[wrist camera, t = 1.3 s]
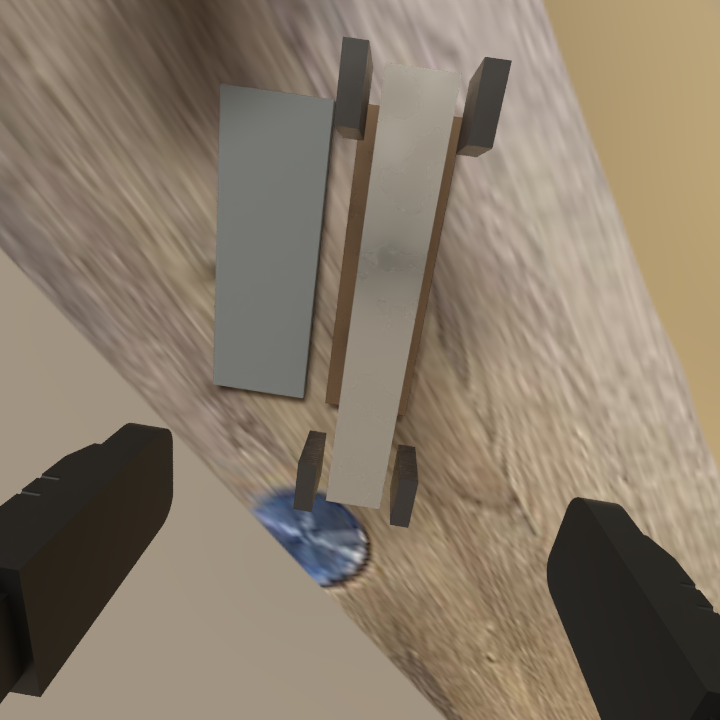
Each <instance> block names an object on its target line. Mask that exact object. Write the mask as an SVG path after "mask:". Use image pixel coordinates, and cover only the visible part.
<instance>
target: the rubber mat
mask: <svg viewBox="0 0 720 720" xmlns="http://www.w3.org/2000/svg"><path fill="white" fill-rule="evenodd" d="M335 105H336V103H335V101H334V100H332V99H325V98H318V97H311V96H304V95H297V94H290V93H283V92H276V91H270V90H263V89H256V88H249V87H242V86H235V85H228V84H221V83H220V118H219V160H218V203H217V245H216V288H215V330H214V373H213V384H215V385H221V386H228V387H234V388H240V389H247V390H253V391H259V392H266V393H272V394H278V395H285V396H291V397H297V398H303V397H304V395H305V391H306V381H307V372H308V362H309V353H310V343H311V334H312V324H313V315H314V305H315V296H316V286H317V276H318V267H319V257H320V248H321V238H322V229H323V219H324V210H325V200H326V191H327V181H328V171H329V162H330V152H331V143H332V133H333V124H334V114H335Z"/></svg>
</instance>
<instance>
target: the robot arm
mask: <svg viewBox="0 0 720 720" xmlns="http://www.w3.org/2000/svg"><path fill="white" fill-rule="evenodd" d="M172 498H173V440H172V434H171V432H170V430H169V429H165V428H159V427H153V426H147V425H140V424H135V423H128V424H126V425H124V426H123V427H122V428H120V429H119V430H118V431H117V432H116V433H114V434H113V435H112V436H111V437H110V438H108V439H107V440H106V441H105V442H103V443H102V444H96V443H95V444H92V445H90V446H87V447H85V448H83V449H81V450H78V451H76V452H74V453H72V454H69V455H67V456H65V457H64V458H62V459H61V460H60V461H58V462H57V463H56V464H54V465H53V466H52V467H51V468H49V469H48V470H47V471H45V472H44V473H43V474H42V476H41V478H36V479H35V480H34V481H33V482H31V483H30V484H29V485H27V486H26V487H25V488H23V489H22V492H21V494H16V495H14V496H13V497H12V498H11V499H9V500H8V501H7V502H5V503H4V504H3V505H1V506H0V703H1V702H2V701H3V699H4V698H5V697H6V696H7V694H8V693H9V692H14V693H20V694H25V695H31V696H37V697H41V696H42V694H43V693H44V691H45V690H46V688H47V687H48V686H49V684H50V683H51V681H52V680H53V679H54V677H55V676H56V674H57V673H58V672H59V670H60V669H61V667H62V666H63V665H64V663H65V662H66V660H67V659H68V658H69V656H70V655H71V653H72V652H73V651H74V649H75V648H76V646H77V645H78V644H79V642H80V641H81V639H82V638H83V637H84V635H85V634H86V632H87V631H88V630H89V628H90V627H91V625H92V624H93V622H94V621H95V620H96V618H97V617H98V616H99V614H100V613H101V611H102V610H103V609H104V607H105V606H106V604H107V603H108V602H109V600H110V599H111V597H112V596H113V595H114V593H115V592H116V590H117V589H118V587H119V586H120V585H121V583H122V582H123V580H124V579H125V578H126V576H127V575H128V573H129V572H130V571H131V569H132V568H133V566H134V565H135V564H136V562H137V561H138V559H139V558H140V556H141V555H142V554H143V552H144V551H145V550H146V548H147V547H148V545H149V544H150V543H151V541H152V540H153V538H154V537H155V536H156V534H157V533H158V531H159V530H160V529H161V527H162V526H163V524H164V522H165V520H166V518H167V516H168V513H169V511H170V507H171V504H172ZM547 582H548V587H549V591H550V594H551V596H552V599H553V601H554V604H555V606H556V609H557V611H558V614H559V616H560V619H561V621H562V624H563V626H564V629H565V631H566V634H567V636H568V639H569V641H570V644H571V646H572V648H573V651H574V653H575V656H576V658H577V661H578V663H579V666H580V668H581V671H582V673H583V676H584V678H585V681H586V683H587V686H588V688H589V691H590V693H591V696H592V698H593V701H594V703H595V705H596V708H597V710H598V713H599V715H600V718H601V720H720V615H719V614H718V613H714V611H713V606H712V605H711V604H710V602H709V601H708V600H707V599H706V597H705V596H704V595H703V594H702V592H701V591H700V590H696V588H695V583H694V582H693V581H692V580H691V578H690V577H689V576H688V575H687V573H686V572H685V571H684V570H683V568H682V567H681V566H680V565H679V563H678V562H677V561H676V559H675V558H673V557H672V556H671V555H670V554H669V553H667V552H666V551H665V550H664V549H662V548H661V547H660V546H659V545H658V544H656V543H655V542H654V541H653V540H652V539H650V538H649V537H648V536H646V535H643V534H642V532H641V531H640V530H639V528H638V527H637V526H636V524H635V523H634V522H633V520H632V519H631V518H630V516H629V515H628V514H627V512H626V511H625V510H624V509H623V507H622V506H620V505H619V504H616V503H610V502H604V501H598V500H592V499H586V498H579V497H577V498H574V499H573V500H572V501H571V502H570V504H569V505H568V508H567V510H566V513H565V516H564V518H563V521H562V523H561V526H560V529H559V531H558V534H557V537H556V539H555V542H554V545H553V547H552V550H551V552H550V555H549V558H548V563H547Z"/></svg>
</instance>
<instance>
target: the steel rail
mask: <svg viewBox="0 0 720 720" xmlns="http://www.w3.org/2000/svg"><path fill="white" fill-rule="evenodd" d="M461 75H462V73H455V72H448V71H441V70H434V69H427V68H420V67H413V66H406V65H399V64H392V63H386V64H385V71H384V79H383V86H382V94H381V101H380V108H379V116H378V123H377V130H376V138H375V145H374V152H373V160H372V167H371V174H370V182H369V189H368V196H367V204H366V211H365V219H364V226H363V233H362V241H361V248H360V255H359V263H358V270H357V277H356V285H355V292H354V299H353V307H352V314H351V321H350V329H349V336H348V344H347V351H346V358H345V366H344V373H343V380H342V388H341V395H340V402H339V410H338V417H337V424H336V432H335V439H334V446H333V454H332V461H331V468H330V476H329V483H328V491H327V498H326V501H331V502H337V503H344V504H350V505H356V506H362V507H368V508H374V509H379V508H380V503H381V497H382V492H383V487H384V482H385V476H386V471H387V466H388V460H389V455H390V450H391V445H392V439H393V434H394V429H395V424H396V418H397V413H398V408H399V402H400V397H401V392H402V387H403V381H404V376H405V371H406V365H407V360H408V355H409V350H410V344H411V339H412V334H413V328H414V323H415V318H416V313H417V307H418V302H419V297H420V291H421V286H422V281H423V276H424V270H425V265H426V260H427V254H428V249H429V244H430V239H431V233H432V228H433V223H434V217H435V212H436V207H437V202H438V196H439V191H440V186H441V180H442V175H443V170H444V165H445V159H446V154H447V149H448V144H449V138H450V133H451V128H452V122H453V117H454V112H455V107H456V101H457V96H458V91H459V85H460V80H461Z"/></svg>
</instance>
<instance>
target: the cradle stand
mask: <svg viewBox="0 0 720 720" xmlns="http://www.w3.org/2000/svg"><path fill="white" fill-rule="evenodd" d="M511 62H512V61H510V60H503V59H496V58H489V57H485V58H484V60H483V61H482V63H481V64H480V66H479V67H478V69H477V71H476V72H475V74H474V75H473V77H472V79H471V80H470V82H469V88H468V93H467V98H466V103H465V108H464V113H463V118H461V117H453V122H452V128H451V133H450V138H449V144H448V149H447V154H446V159H445V165H444V170H443V175H442V180H441V186H440V191H439V196H438V202H437V207H436V212H435V217H434V223H433V228H432V233H431V239H430V244H429V249H428V254H427V260H426V265H425V270H424V276H423V281H422V286H421V291H420V297H419V302H418V307H417V313H416V318H415V323H414V328H413V334H412V339H411V344H410V350H409V355H408V360H407V365H406V371H405V376H404V381H403V387H402V392H401V397H400V402H399V408H398V413H397V414H399V415H405V413H406V408H407V403H408V398H409V393H410V388H411V383H412V377H413V372H414V367H415V362H416V357H417V352H418V347H419V342H420V337H421V332H422V327H423V321H424V316H425V311H426V306H427V301H428V296H429V291H430V286H431V281H432V276H433V271H434V266H435V260H436V255H437V250H438V245H439V240H440V235H441V230H442V225H443V220H444V215H445V210H446V204H447V199H448V194H449V189H450V184H451V179H452V174H453V169H454V164H455V159H456V154H458V155H465V156H472V157H478V156H479V155H481V154H483V153H485V152H487V151H489V150H490V149H492V147H493V143H494V138H495V134H496V129H497V125H498V120H499V116H500V111H501V107H502V102H503V98H504V93H505V89H506V84H507V80H508V75H509V71H510V66H511ZM372 73H373V63H372V56H371V49H370V42H369V40H362V39H355V38H348V37H343V42H342V52H341V61H340V71H339V80H338V90H337V99H336V109H335V118H334V126H335V128H336V129H337V130H338V132H339V133H340V134H341V136H342V137H343V138H349V139H355V140H358V142H357V150H356V158H355V166H354V174H353V183H352V191H351V199H350V207H349V215H348V223H347V231H346V239H345V247H344V255H343V264H342V272H341V280H340V288H339V296H338V304H337V312H336V320H335V328H334V336H333V345H332V353H331V361H330V369H329V377H328V385H327V393H326V401H325V403H329V404H335V405H339V402H340V395H341V388H342V380H343V373H344V366H345V358H346V351H347V344H348V336H349V329H350V321H351V314H352V307H353V299H354V292H355V285H356V277H357V270H358V263H359V255H360V248H361V241H362V233H363V226H364V219H365V211H366V204H367V196H368V189H369V182H370V174H371V167H372V160H373V152H374V145H375V138H376V130H377V123H378V116H379V108H380V106H377V105H371V104H369V96H370V88H371V81H372ZM325 440H326V433H323V432H317V431H310V432H309V435H308V438H307V440H306V443H305V446H304V449H303V451H302V454H301V457H300V460H299V462H298V470H297V480H296V489H295V499H294V508H293V509H297V510H303V511H309V512H311V511H312V507H313V504H314V500H315V496H316V492H317V488H318V485H319V481H320V477H321V472H322V464H323V456H324V448H325ZM417 486H418V474H417V463H416V452H415V447H411V446H405V445H398V450H397V455H396V460H395V465H394V471H393V476H392V481H391V486H390V525H395V526H401V527H407V528H408V526H409V522H410V517H411V513H412V508H413V504H414V499H415V495H416V490H417Z"/></svg>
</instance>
